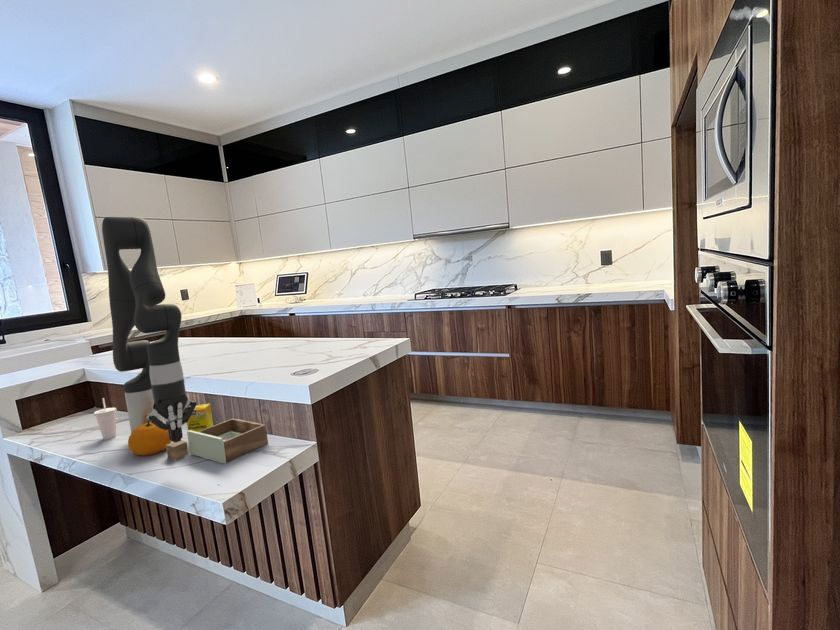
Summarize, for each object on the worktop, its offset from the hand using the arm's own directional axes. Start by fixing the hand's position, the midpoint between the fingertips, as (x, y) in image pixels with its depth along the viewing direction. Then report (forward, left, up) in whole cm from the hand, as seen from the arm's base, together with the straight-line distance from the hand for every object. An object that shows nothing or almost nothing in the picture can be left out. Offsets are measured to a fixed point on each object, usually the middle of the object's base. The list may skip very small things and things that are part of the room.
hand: (176, 441), depth 115 cm
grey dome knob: (+1, +12, -7) cm, 14 cm away
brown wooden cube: (-11, +5, -8) cm, 14 cm away
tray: (0, +14, -8) cm, 16 cm away
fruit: (-24, +4, -9) cm, 25 cm away
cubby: (0, +14, -8) cm, 16 cm away
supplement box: (-17, +16, -9) cm, 25 cm away
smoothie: (-54, +4, -9) cm, 54 cm away
